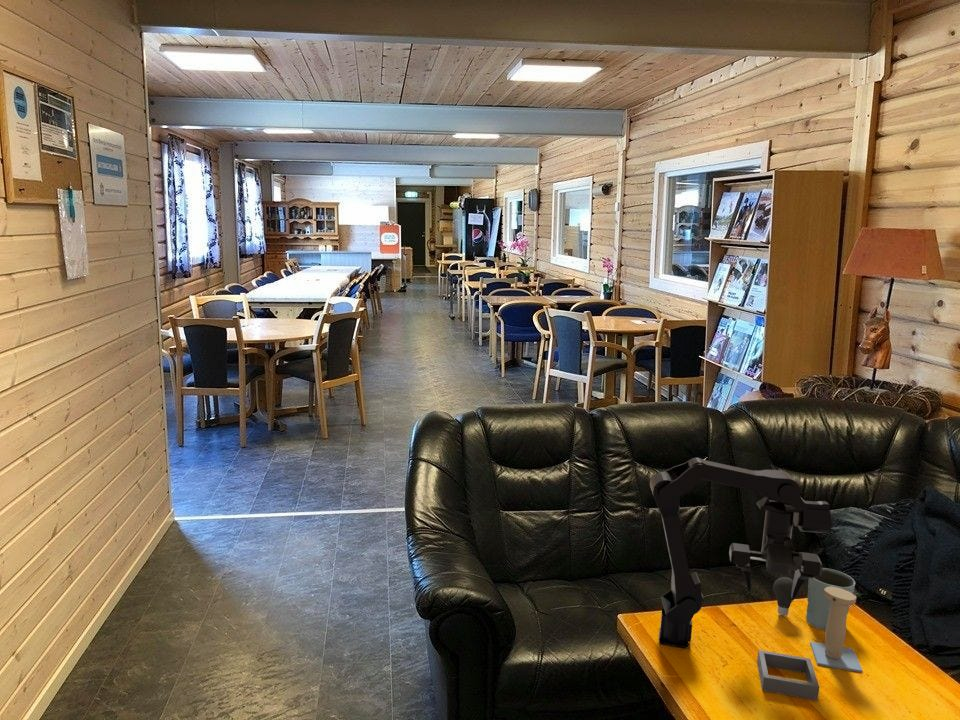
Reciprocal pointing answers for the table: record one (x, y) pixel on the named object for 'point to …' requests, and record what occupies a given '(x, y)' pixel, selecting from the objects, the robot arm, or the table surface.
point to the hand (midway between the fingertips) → (770, 594)
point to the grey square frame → (782, 684)
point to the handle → (837, 620)
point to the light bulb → (783, 594)
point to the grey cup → (817, 600)
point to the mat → (845, 662)
